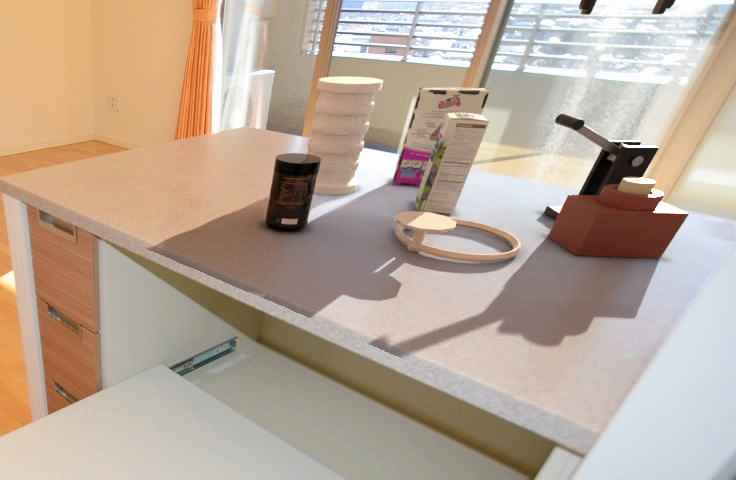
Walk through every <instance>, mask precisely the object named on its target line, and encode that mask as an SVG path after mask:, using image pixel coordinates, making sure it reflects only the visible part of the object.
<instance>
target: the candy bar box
mask: <svg viewBox="0 0 736 480" xmlns="http://www.w3.org/2000/svg"><path fill="white" fill-rule="evenodd" d="M489 94H490V91H489V89H488V88H487V87H486V88H485V87H484V88H483V87H441V86H440V87H439V86H438V87H435V86H433V87H429V86H428V87H427V86H425V87H424V86H421V87H419V88H418V91H417V95H416V98H415V101H414V104H413V107H412V112H411V115H410V118H409V121H408V125H407V129H406V132H405V135H404V139H403V142H402V145H401V149H400V152H399V155H398V158H397V162H396V166H395V170H394V172H393V177H392V185H394V186H405V187H418V188H419V187H420V184H421V181H422V178H423V176H424V173H425V170H426V167H427V164H428V162H429V159H430V156H431V153H432V151H433V148H434V145H435V142H436V140H437V137H438V134H439V132H440V129H441V126H442V123H443V120H444V117H445V115H446V113H472V114H478V115H483V111H484V108H485V105H486V103H487V101H488V99H489V98H488V97H489Z"/></svg>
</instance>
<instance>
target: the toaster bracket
mask: <svg viewBox="0 0 736 480" xmlns="http://www.w3.org/2000/svg"><path fill="white" fill-rule="evenodd" d="M608 140H609V141H610V142H612V143H613V144H615V145H617V146H619V145H620V144H621V143H623V144H626V145H629V146H622V148H621V149H620V151H619V153H618V155H617V157H616V159H615V161H614V162H611V161H609V160H608V159H606V158H607V157H608V156H609V155H610V154H611V153H609V152H608V151H606V150H604V149H603V148H601V150H600V152H599V153H598V155H597V157H596V160H595V161H594V163H593V164H592V165H593V166H592V167H591V169H590V170H589V172H588V175H587V176H586V179H585V181H584V182H583V185H582V187H581V188H580V190H579V193H578V194H577V195H600V193H601V191H602V190H603V188H604V186H605V185H610V184H620V183H621V181H622V179H623V178H624V177H641V178H644V175H645V174H646V171H648V168H649V166H650V165H651V163H652V162H653V159H654V158H655V156H656V154H657V153H658V151H659V149H660V147H658V146H656V145H641V144H642V141H640V140H637V139H636V140H635V139H633V140H632V139H627V140H626V139H620V140H618V139H617V140H616V139H608ZM562 207H563V205H547V206H546V207H545V209H544V211H543V214H544V215H546V216H548V217H549V218H551V219H553V220H554V221H555V220H556V218H557V216H558V214H559V212H560V211H561V209H562Z"/></svg>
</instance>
